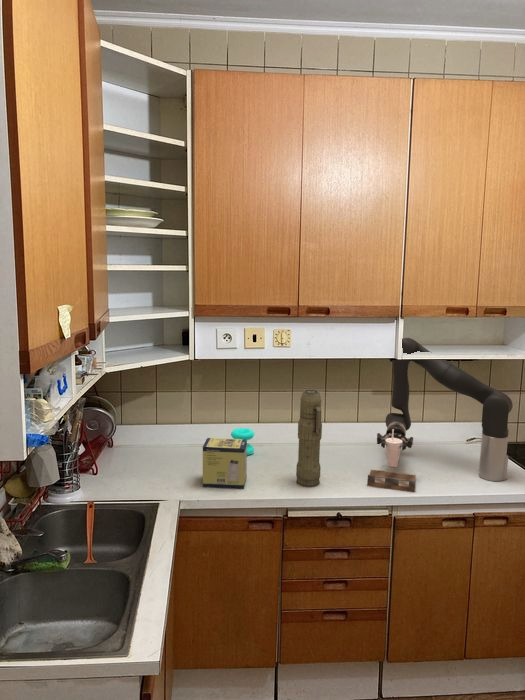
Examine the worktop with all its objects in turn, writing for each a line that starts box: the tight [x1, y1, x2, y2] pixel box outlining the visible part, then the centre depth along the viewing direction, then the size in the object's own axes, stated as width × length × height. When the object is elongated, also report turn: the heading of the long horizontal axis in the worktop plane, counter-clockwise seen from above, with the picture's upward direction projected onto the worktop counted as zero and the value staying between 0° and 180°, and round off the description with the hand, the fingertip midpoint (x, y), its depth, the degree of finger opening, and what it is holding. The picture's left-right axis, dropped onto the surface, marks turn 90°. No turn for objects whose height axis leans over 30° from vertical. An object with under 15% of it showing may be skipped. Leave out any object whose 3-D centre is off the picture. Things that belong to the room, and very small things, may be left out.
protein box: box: [202, 437, 248, 490], centre depth 198 cm, size 10×16×16 cm
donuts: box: [230, 427, 255, 457], centre depth 230 cm, size 10×10×10 cm
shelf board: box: [366, 469, 417, 493], centre depth 202 cm, size 17×13×4 cm
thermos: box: [295, 389, 323, 488], centre depth 198 cm, size 9×12×35 cm
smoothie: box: [385, 429, 403, 468], centre depth 201 cm, size 6×6×14 cm
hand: (393, 446), depth 198 cm, fingers closed on smoothie, 6 cm apart
